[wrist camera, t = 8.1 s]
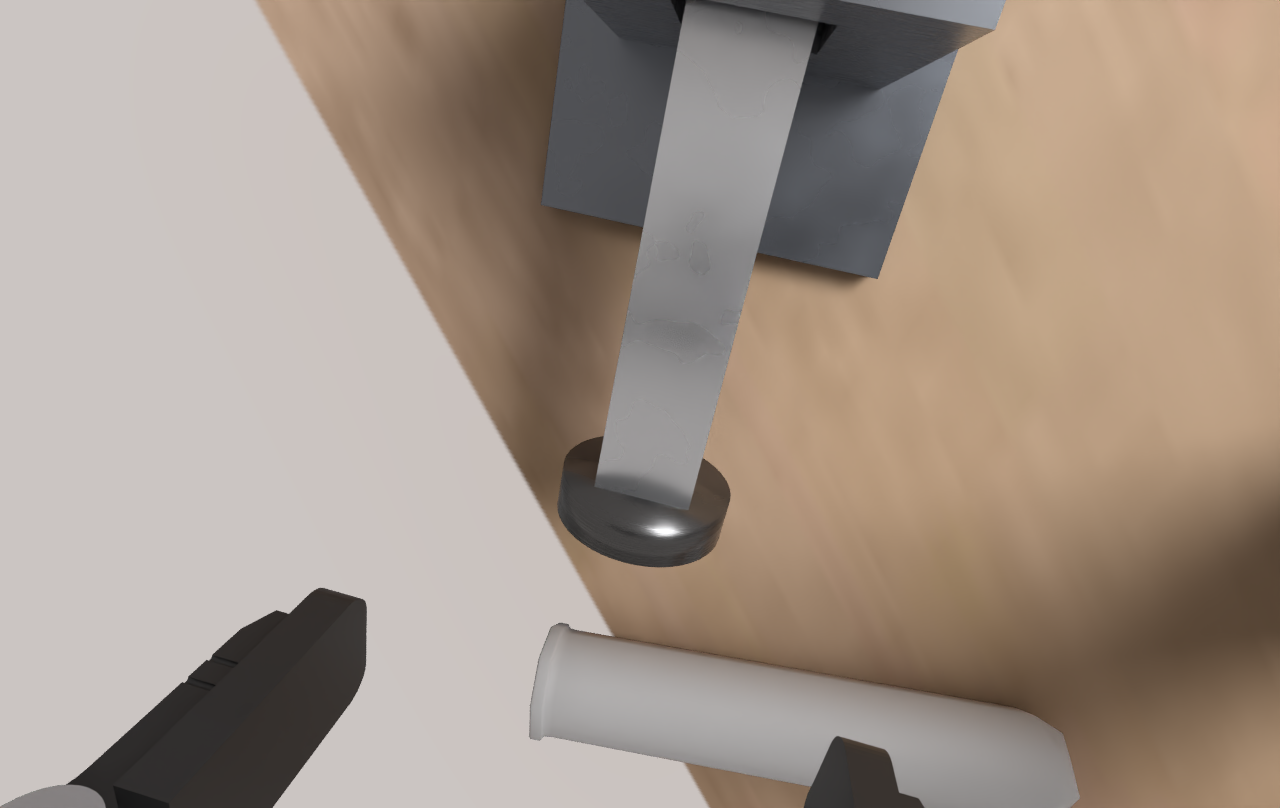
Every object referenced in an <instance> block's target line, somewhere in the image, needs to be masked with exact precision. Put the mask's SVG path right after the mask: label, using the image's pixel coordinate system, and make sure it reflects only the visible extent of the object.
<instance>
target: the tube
mask: <svg viewBox="0 0 1280 808" xmlns="http://www.w3.org/2000/svg"><path fill="white" fill-rule="evenodd" d="M544 736H547V737H556V738H560V739H566V740H571V741H577V742H581V743H587V744H592V745H597V746H602V747H607V748H612V749H617V750H623V751H628V752H633V753H638V754H644V755H649V756H654V757H659V758H664V759H670V760H675V761H680V762H685V763H690V764H695V765H701V766H706V767H711V768H716V769H721V770H727V771H732V772H737V773H742V774H747V775H753V776H758V777H763V778H768V779H773V780H778V781H784V782H789V783H794V784H799V785H804V786H810V787H811V786H812V784H813V782H814V780H815V777H816V775H817V773H818V771H819V769H820V766H821V764H822V762H823V760H824V757H825V755H826V753H827V751H828V749H829V746H830V744H831V742H832V740H833V739H834V738H835V737H836V736H840V737H843V738H847V739H850V740H854V741H858V742H861V743H865V744H868V745H872V746H875V747H879V748H882V749H885V750H886V751H887V752H888V754H889V756H890V758H891V761H892V765H893V769H894V773H895V777H896V781H897V786H898V790H899V793H902V794H906V795H909V796H913V797H916V798H919V800H920V801H921V803H922V804H923V806H924V808H1070V807H1071V806H1072V805H1073V804H1074V803H1075V802H1076V801H1077V800H1079V799H1080V796H1079V792H1078V788H1077V784H1076V780H1075V776H1074V771H1073V767H1072V763H1071V759H1070V756H1069V753H1068V749H1067V746H1066V742H1065V739H1064V736H1063V733H1061V732H1060V731H1058V730H1057V729H1055V728H1054V727H1052V726H1050V725H1049V724H1047V723H1046V722H1044V721H1043V720H1041V719H1040V718H1038V717H1036V716H1035V715H1032V714H1030V713H1028V712H1025V711H1023V710H1020V709H1018V708H1016V707H1010V706H1005V705H999V704H993V703H988V702H982V701H976V700H971V699H965V698H959V697H954V696H948V695H942V694H937V693H931V692H925V691H920V690H914V689H908V688H903V687H897V686H891V685H885V684H880V683H874V682H868V681H863V680H857V679H851V678H846V677H840V676H834V675H829V674H823V673H817V672H812V671H806V670H800V669H795V668H789V667H783V666H778V665H772V664H766V663H761V662H755V661H749V660H744V659H738V658H732V657H727V656H721V655H715V654H710V653H704V652H698V651H692V650H687V649H681V648H675V647H669V646H664V645H658V644H652V643H647V642H641V641H635V640H629V639H624V638H618V637H612V636H606V635H601V634H595V633H589V632H583V631H577V630H574V629H571V628H570V627H569V624H565V623H558V624H556V625H554V626H552V627H551V629H550V631H549V634H548V636H547V639H546V641H545V644H544V647H543V649H542V652H541V654H540V657H539V661H538V666H537V671H536V676H535V682H534V687H533V693H532V698H531V704H530V733H529V737H530V739H534V740H541V739H542V738H543V737H544Z"/></svg>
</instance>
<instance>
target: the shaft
mask: <svg viewBox="0 0 1280 808" xmlns="http://www.w3.org/2000/svg"><path fill="white" fill-rule="evenodd" d="M817 25H818V21H813V20H808V19H802V18H797V17H792V16H787V15H782V14H777V13H771V12H766V11H761V10H756V9H751V8H746V7H740V6H735V5H730V4H725V3H720V2H715V1H709V0H686V5H685V10H684V15H683V21H682V26H681V31H680V36H679V42H678V47H677V52H676V58H675V63H674V68H673V73H672V79H671V84H670V89H669V95H668V100H667V105H666V110H665V116H664V121H663V126H662V132H661V137H660V142H659V147H658V153H657V158H656V163H655V169H654V174H653V179H652V184H651V190H650V195H649V200H648V206H647V211H646V216H645V221H644V227H643V232H642V237H641V243H640V248H639V253H638V258H637V264H636V269H635V274H634V280H633V285H632V290H631V295H630V301H629V306H628V311H627V317H626V322H625V327H624V333H623V338H622V343H621V348H620V354H619V359H618V364H617V370H616V375H615V380H614V385H613V391H612V396H611V401H610V407H609V412H608V417H607V422H606V428H605V433H604V436H602V437H597V438H593V439H589V440H586V441H584V442H582V443H580V444H578V445H577V446H575V447H574V448H573V449H571V450H570V452H569V453H568V454H567V456H566V458H565V461H564V467H563V473H562V479H561V485H560V491H559V497H558V504H557V505H558V513H559V516H560V518H561V520H562V522H563V524H564V526H565V527H566V528H567V530H568V531H569V532H570V533H571V534H572V535H573V536H574V537H575V538H576V539H578V540H579V541H580V542H581V543H583V544H584V545H586V546H587V547H589V548H591V549H592V550H594V551H596V552H598V553H600V554H602V555H604V556H607V557H609V558H612V559H615V560H618V561H621V562H625V563H629V564H634V565H639V566H647V567H673V566H680V565H685V564H688V563H692V562H694V561H697V560H699V559H701V558H702V557H704V556H706V555H707V554H708V553H709V552H711V551H712V550H713V548H714V547H715V545H716V544H717V541H718V539H719V536H720V532H721V529H722V526H723V522H724V519H725V515H726V512H727V509H728V505H729V502H730V489H729V486H728V483H727V482H726V480H725V478H724V477H723V475H722V474H721V473H720V472H719V471H718V470H717V469H716V468H715V467H714V466H713V465H712V464H710V463H709V462H708V461H706V460H705V459H703V454H704V450H705V446H706V443H707V439H708V435H709V431H710V427H711V424H712V420H713V416H714V412H715V409H716V405H717V401H718V397H719V394H720V390H721V386H722V382H723V379H724V375H725V371H726V367H727V364H728V360H729V356H730V352H731V349H732V345H733V341H734V337H735V334H736V330H737V326H738V322H739V319H740V315H741V311H742V307H743V304H744V300H745V296H746V292H747V288H748V285H749V281H750V277H751V273H752V270H753V266H754V262H755V258H756V255H757V251H758V247H759V243H760V240H761V236H762V232H763V228H764V225H765V221H766V217H767V213H768V210H769V206H770V202H771V198H772V195H773V191H774V187H775V183H776V180H777V176H778V172H779V168H780V164H781V161H782V157H783V153H784V149H785V146H786V142H787V138H788V134H789V131H790V127H791V123H792V119H793V116H794V112H795V108H796V104H797V101H798V97H799V93H800V89H801V86H802V82H803V78H804V74H805V71H806V67H807V63H808V59H809V56H810V52H811V48H812V44H813V41H814V37H815V33H816V29H817Z"/></svg>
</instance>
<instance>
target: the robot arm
mask: <svg viewBox="0 0 1280 808" xmlns="http://www.w3.org/2000/svg"><path fill="white" fill-rule="evenodd" d="M366 616H367V607H366V603H365V601H364V600H363V599H360V598H356V597H353V596H350V595H346V594H342V593H339V592H336V591H332V590H328V589H325V588H318V589H316V590H314V591H313V592H312V593H310V594H309V595H308V596H307V597H306V598H305V599H304V600H303V601H302V602H301V603H300V604H299V605H298V606H297V607H296V608H295V609H294V610H293V611H292V612H291V613H290V614H287V613H284V612H280V611H277V610H276V611H274V612H272V613H270V614H268V615H267V616H265V617H263V618H261V619H259V620H257V621H255V622H253V623H252V624H249V625H248V626H246V627H244V628H242V629H240V630H239V631H238V632H237V633H236V634H235V635H234V636H233V637H231V638H230V639H229V640H228V641H227V642H226V643H225V644H224V645H223V646H222V647H221V648H219V650H217V651H216V652H215V653H214V654H213V655H212V658H211V659H210V660H209V661H208V660H206V661H205V662H204V663H203V664H202V665H201V666H200V667H198V668H197V670H195V671H194V672H193V673H192V674H191V675H190V676H189V677H188V680H187V681H186V682H185V683H183V682H182V683H181V684H180V685H179V686H178V687H176V688H175V689H174V690H173V691H172V692H171V693H170V694H169V695H168V696H167V697H165V698H164V699H163V700H162V701H161V702H160V703H159V704H158V705H157V706H156V707H155V708H154V709H152V710H151V711H150V712H149V713H148V714H147V715H146V716H145V717H143V718H142V719H141V720H140V721H139V722H138V723H137V724H136V725H135V726H134V727H133V728H131V729H130V730H129V731H128V732H127V733H126V734H125V735H124V736H123V737H121V738H120V739H119V740H118V741H117V742H116V743H115V744H114V745H113V746H112V747H111V748H109V749H108V750H107V751H106V752H105V753H104V754H103V755H102V756H101V757H99V758H98V759H97V760H96V761H95V762H94V763H93V764H92V765H91V766H90V767H88V768H87V769H86V770H85V771H84V772H83V773H81V774H80V775H79V776H78V777H77V778H75V779H74V780H72V781H71V782H69V783H68V784H66V785H58V786H53V787H48V788H43V789H40V790H37V791H33V792H31V793H28V794H25V795H23V796H21V797H18V798H16V799H14V800H12V801H10V802H8V803H6V804H4V805H2V806H1V807H0V808H273V806H274V805H275V803H276V802H277V801H278V799H279V798H280V797H281V795H282V794H283V793H284V791H285V790H286V789H287V787H288V786H289V785H290V783H291V782H292V781H293V779H294V778H295V777H296V775H297V774H298V773H299V771H300V770H301V769H302V767H303V766H304V765H305V763H306V762H307V760H308V759H309V758H310V756H311V755H312V754H313V752H314V751H315V750H316V748H317V747H318V746H319V744H320V743H321V742H322V740H323V739H324V738H325V736H326V735H327V734H328V732H329V731H330V729H331V728H332V727H333V725H334V724H335V723H336V721H337V720H338V719H339V718H340V716H341V715H342V713H343V712H344V711H345V709H346V708H347V706H348V705H349V704H350V703H351V701H352V700H353V698H354V696H355V694H356V692H357V691H358V688H359V686H360V684H361V681H362V679H363V676H364V672H365V667H366V621H367V617H366ZM804 808H924V806H923V804H922V803H921V801H920V800H919V798H916V797H913V796H909V795H906V794H902V793H899V790H898V786H897V781H896V777H895V773H894V769H893V765H892V761H891V758H890V756H889V754H888V752H887V751H886V750H885V749H882V748H879V747H875V746H872V745H868V744H865V743H861V742H858V741H854V740H850V739H847V738H843V737H840V736H836V737H835V738H834V739H833V740H832V742H831V744H830V746H829V749H828V751H827V753H826V755H825V757H824V760H823V762H822V764H821V766H820V769H819V771H818V773H817V775H816V777H815V780H814V782H813V784H812V786H811V788H810V791H809V793H808V795H807V798H806V801H805V805H804Z"/></svg>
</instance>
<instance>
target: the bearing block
mask: <svg viewBox="0 0 1280 808" xmlns="http://www.w3.org/2000/svg"><path fill="white" fill-rule="evenodd" d="M709 1H715V2H720V3H725V4H730V5H735V6H740V7H746V8H751V9H756V10H761V11H766V12H771V13H777V14H782V15H787V16H792V17H797V18H802V19H808V20H813V21H818V25H817V29H816V33H815V37H814V41H813V44H812V48H811V52H810V56H809V59H808V63H807V67H806V71H805V74H804V78H803V82H802V86H801V89H800V93H799V97H798V101H797V104H796V108H795V112H794V116H793V119H792V123H791V127H790V131H789V134H788V138H787V142H786V146H785V149H784V153H783V157H782V161H781V164H780V168H779V172H778V176H777V180H776V183H775V187H774V191H773V195H772V198H771V202H770V206H769V210H768V213H767V217H766V221H765V225H764V228H763V232H762V236H761V240H760V243H759V247H758V251H757V253H762V254H766V255H771V256H775V257H780V258H785V259H789V260H794V261H798V262H803V263H807V264H812V265H816V266H821V267H825V268H830V269H834V270H839V271H844V272H848V273H853V274H857V275H862V276H866V277H871V278H875V279H878V276H879V273H880V270H881V268H882V265H883V262H884V259H885V256H886V253H887V251H888V248H889V245H890V242H891V239H892V236H893V233H894V231H895V228H896V225H897V222H898V219H899V216H900V213H901V211H902V208H903V205H904V202H905V199H906V196H907V193H908V191H909V188H910V185H911V182H912V179H913V176H914V173H915V171H916V168H917V165H918V162H919V159H920V156H921V154H922V151H923V148H924V145H925V142H926V139H927V136H928V134H929V131H930V128H931V125H932V122H933V119H934V116H935V114H936V111H937V108H938V105H939V102H940V99H941V96H942V94H943V91H944V88H945V85H946V82H947V79H948V76H949V74H950V71H951V68H952V65H953V62H954V59H955V57H956V54H957V51H958V49H959V48H961V47H963V46H965V45H967V44H969V43H971V42H972V41H974V40H976V39H978V38H980V37H982V36H984V35H986V34H988V33H990V32H992V31H994V30H995V28H996V26H997V23H998V20H999V17H1000V15H1001V12H1002V9H1003V6H1004V4H1005V1H1006V0H709ZM685 5H686V0H566V4H565V12H564V21H563V29H562V37H561V45H560V53H559V62H558V70H557V78H556V86H555V94H554V103H553V111H552V119H551V127H550V136H549V144H548V152H547V160H546V168H545V177H544V185H543V193H542V201H541V205H544V206H549V207H553V208H558V209H562V210H567V211H571V212H576V213H580V214H585V215H590V216H594V217H599V218H603V219H608V220H612V221H617V222H621V223H626V224H630V225H635V226H639V227H644V221H645V216H646V211H647V206H648V200H649V195H650V190H651V184H652V179H653V174H654V169H655V163H656V158H657V153H658V147H659V142H660V137H661V132H662V126H663V121H664V116H665V110H666V105H667V100H668V95H669V89H670V84H671V79H672V73H673V68H674V63H675V58H676V52H677V47H678V42H679V36H680V31H681V26H682V21H683V15H684V10H685Z"/></svg>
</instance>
